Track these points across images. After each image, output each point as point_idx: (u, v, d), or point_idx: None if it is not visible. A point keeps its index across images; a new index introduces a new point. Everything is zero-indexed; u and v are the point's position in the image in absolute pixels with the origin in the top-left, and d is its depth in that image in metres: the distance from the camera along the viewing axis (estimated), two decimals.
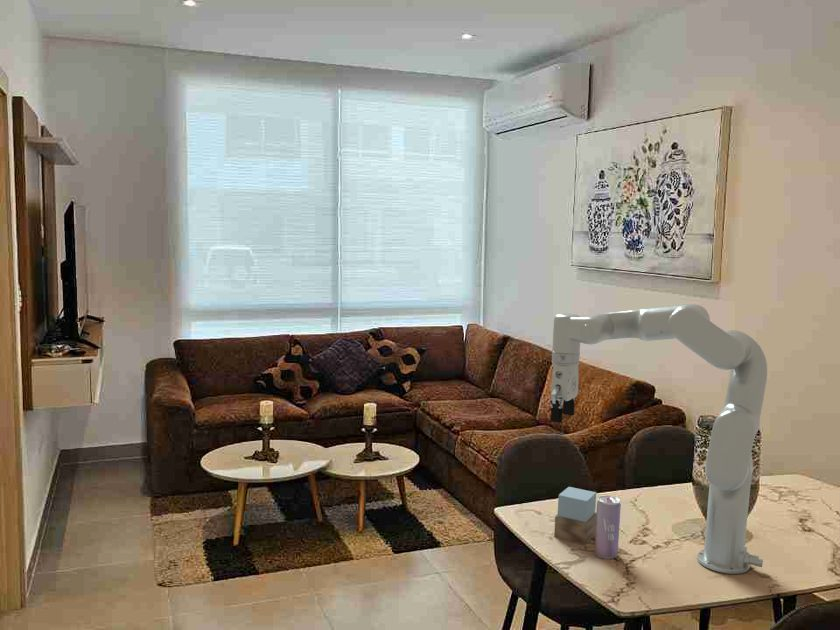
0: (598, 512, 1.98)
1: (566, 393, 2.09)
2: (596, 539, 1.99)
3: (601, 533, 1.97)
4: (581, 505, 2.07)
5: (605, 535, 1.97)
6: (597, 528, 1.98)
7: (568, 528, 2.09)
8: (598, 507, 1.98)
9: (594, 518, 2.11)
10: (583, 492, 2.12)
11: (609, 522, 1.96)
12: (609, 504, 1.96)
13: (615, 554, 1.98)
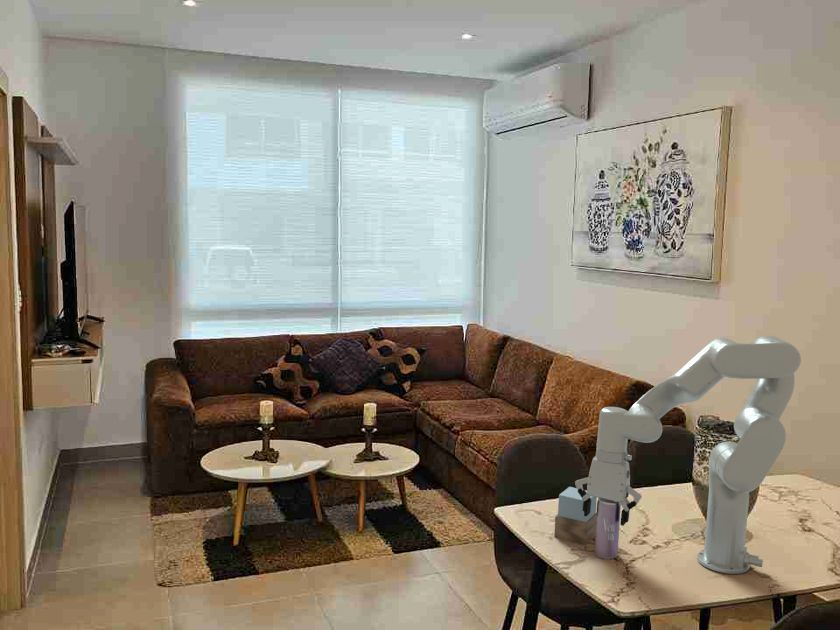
0: (598, 512, 1.98)
1: None
2: (596, 539, 1.99)
3: (601, 533, 1.97)
4: (581, 505, 2.07)
5: (605, 535, 1.97)
6: (597, 528, 1.98)
7: (568, 528, 2.09)
8: (598, 507, 1.98)
9: (594, 518, 2.11)
10: None
11: (609, 522, 1.96)
12: (609, 504, 1.96)
13: (615, 554, 1.98)
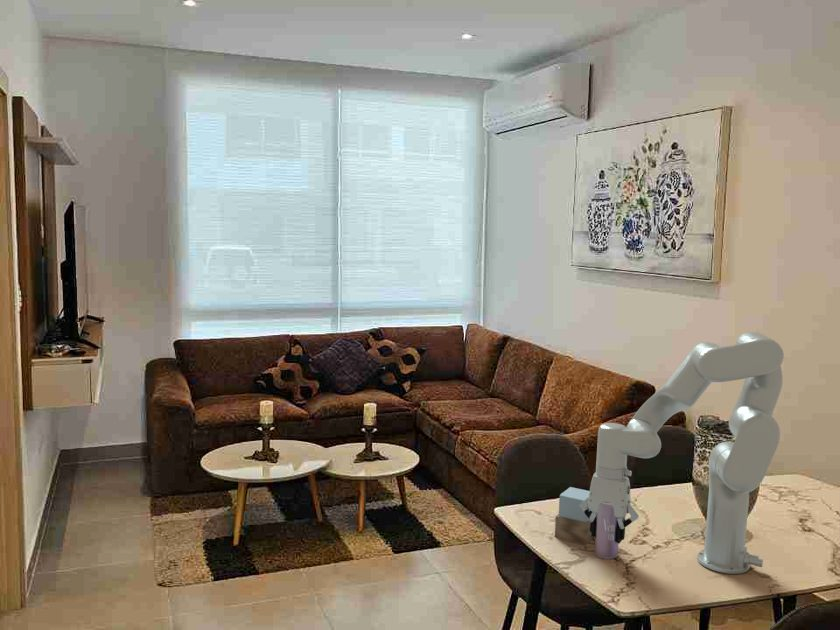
0: (598, 512, 1.98)
1: None
2: (596, 539, 1.99)
3: (601, 533, 1.97)
4: None
5: (605, 535, 1.97)
6: (597, 528, 1.98)
7: (569, 528, 2.09)
8: None
9: None
10: (584, 492, 2.12)
11: (609, 522, 1.96)
12: (609, 504, 1.96)
13: (615, 554, 1.98)
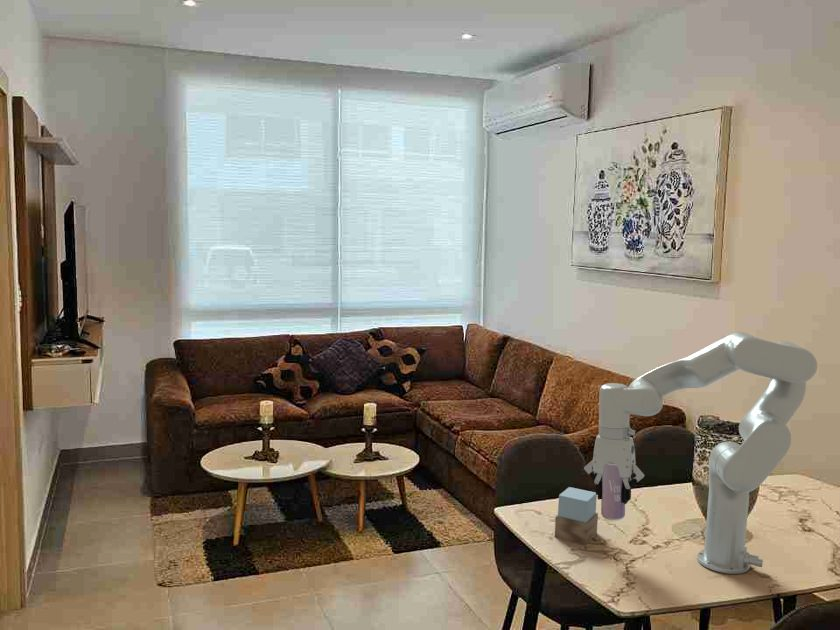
0: (603, 474, 1.97)
1: None
2: (602, 501, 1.98)
3: (607, 494, 1.96)
4: (581, 505, 2.06)
5: (611, 496, 1.95)
6: (603, 490, 1.97)
7: (569, 528, 2.08)
8: (603, 469, 1.96)
9: (594, 518, 2.11)
10: (583, 492, 2.12)
11: (614, 483, 1.95)
12: (614, 465, 1.94)
13: (622, 515, 1.96)
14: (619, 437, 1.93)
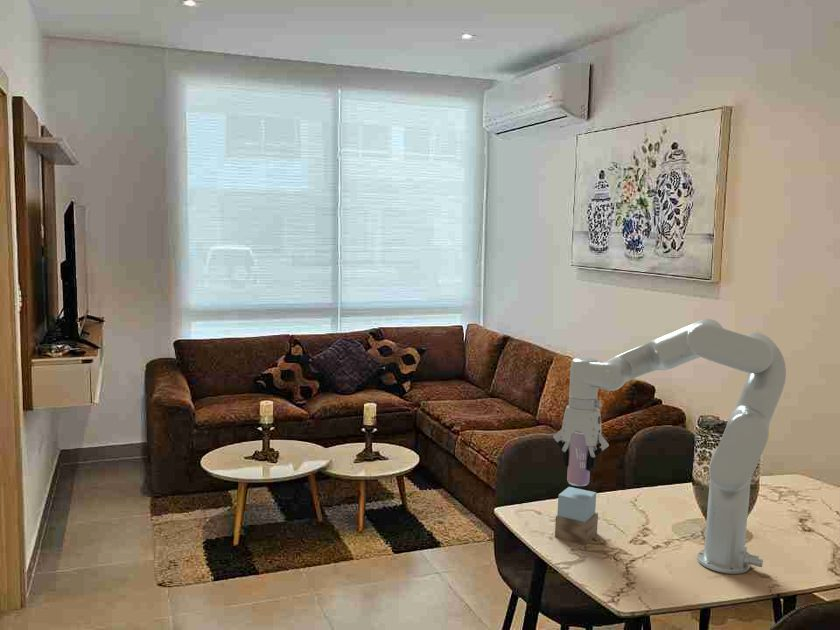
0: (570, 442, 2.08)
1: None
2: (569, 468, 2.10)
3: (573, 461, 2.08)
4: (580, 505, 2.07)
5: (577, 463, 2.07)
6: (569, 457, 2.09)
7: (569, 528, 2.08)
8: None
9: (595, 518, 2.11)
10: (583, 492, 2.12)
11: (580, 451, 2.07)
12: (581, 433, 2.06)
13: (586, 482, 2.08)
14: (587, 408, 2.04)
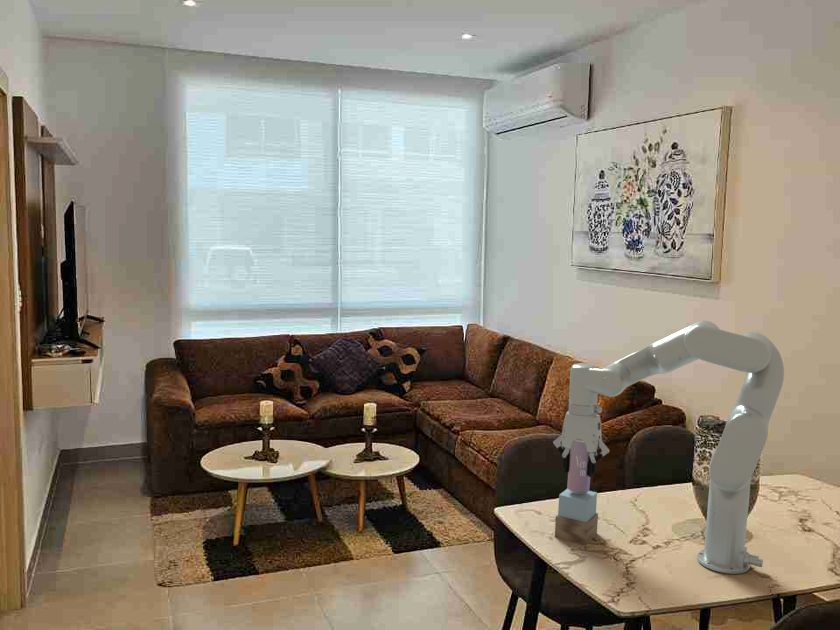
0: (571, 449, 2.09)
1: None
2: (569, 475, 2.10)
3: (573, 469, 2.08)
4: (581, 505, 2.07)
5: (577, 471, 2.07)
6: (570, 465, 2.09)
7: (569, 528, 2.08)
8: (571, 445, 2.08)
9: (595, 518, 2.11)
10: None
11: (581, 458, 2.07)
12: (581, 441, 2.06)
13: (587, 489, 2.09)
14: (587, 414, 2.05)
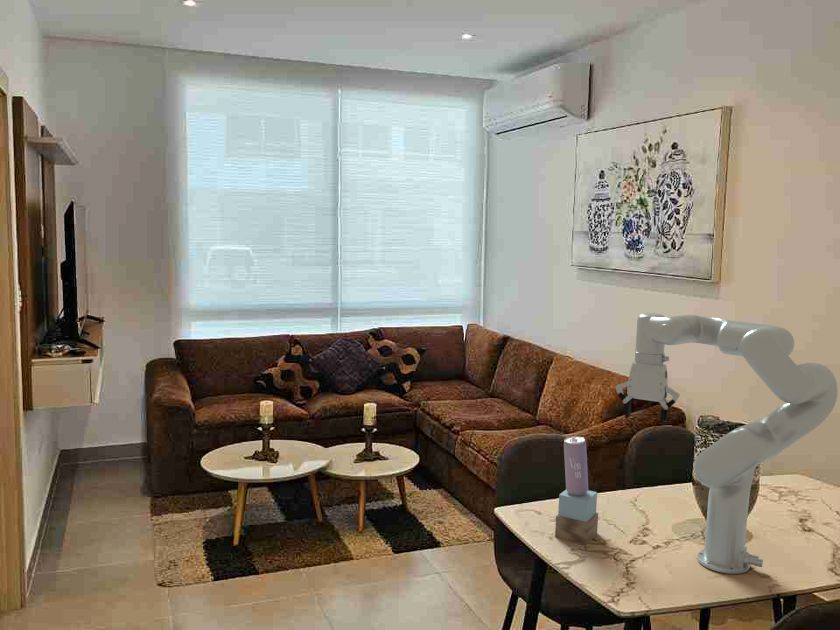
0: (565, 452, 2.09)
1: None
2: (566, 478, 2.10)
3: (568, 471, 2.08)
4: (581, 504, 2.07)
5: (572, 473, 2.08)
6: (565, 467, 2.10)
7: (569, 528, 2.08)
8: (564, 447, 2.09)
9: (595, 518, 2.11)
10: None
11: (574, 460, 2.07)
12: (573, 444, 2.06)
13: (584, 491, 2.08)
14: (654, 362, 2.06)
